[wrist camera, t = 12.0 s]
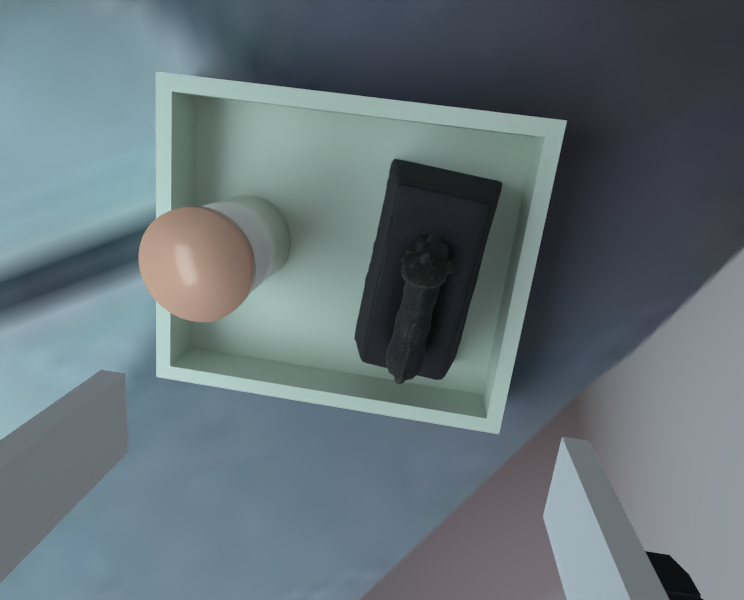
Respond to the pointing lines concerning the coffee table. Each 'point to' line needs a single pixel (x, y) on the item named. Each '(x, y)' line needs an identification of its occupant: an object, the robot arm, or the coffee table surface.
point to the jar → (212, 255)
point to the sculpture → (424, 268)
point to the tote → (346, 239)
